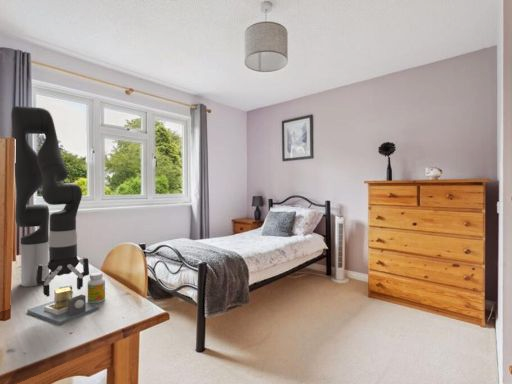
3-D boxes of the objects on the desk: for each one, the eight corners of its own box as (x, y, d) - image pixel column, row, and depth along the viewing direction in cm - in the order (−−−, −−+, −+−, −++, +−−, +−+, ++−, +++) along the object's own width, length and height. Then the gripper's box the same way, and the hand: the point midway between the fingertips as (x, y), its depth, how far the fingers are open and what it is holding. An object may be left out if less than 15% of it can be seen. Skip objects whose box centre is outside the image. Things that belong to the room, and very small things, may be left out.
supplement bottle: (85, 304, 95) (85, 276, 95) (90, 298, 101) (90, 272, 100) (102, 302, 97) (102, 275, 97) (106, 296, 102) (106, 270, 102)
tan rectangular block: (56, 312, 87) (56, 293, 87) (54, 307, 90) (54, 289, 90) (71, 308, 90) (71, 290, 90) (69, 304, 93) (69, 286, 93)
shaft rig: (27, 312, 89) (27, 295, 89) (66, 299, 100) (66, 283, 100) (59, 325, 81) (59, 305, 81) (98, 309, 92) (98, 291, 92)
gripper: (37, 249, 82) (37, 302, 83) (91, 242, 92) (91, 289, 93) (34, 244, 88) (34, 294, 88) (85, 239, 98) (85, 283, 98)
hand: (63, 292), depth 91 cm, fingers open, 8 cm apart
